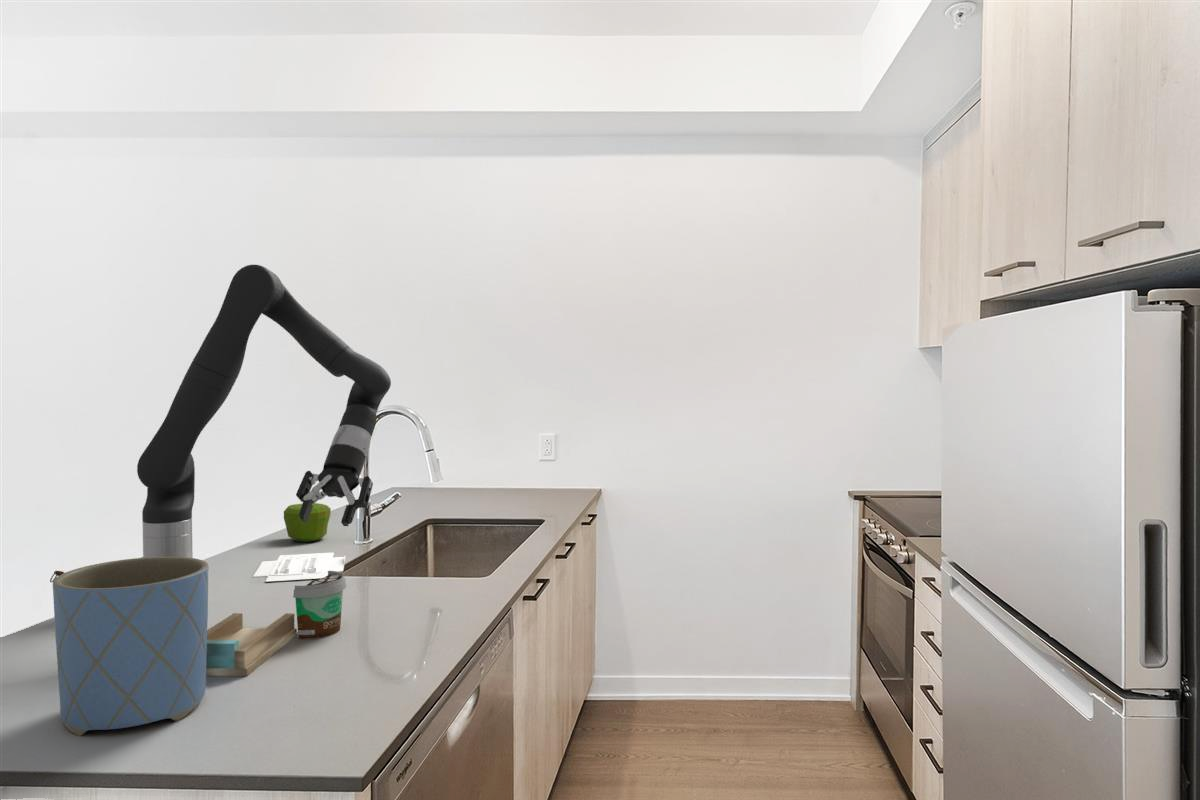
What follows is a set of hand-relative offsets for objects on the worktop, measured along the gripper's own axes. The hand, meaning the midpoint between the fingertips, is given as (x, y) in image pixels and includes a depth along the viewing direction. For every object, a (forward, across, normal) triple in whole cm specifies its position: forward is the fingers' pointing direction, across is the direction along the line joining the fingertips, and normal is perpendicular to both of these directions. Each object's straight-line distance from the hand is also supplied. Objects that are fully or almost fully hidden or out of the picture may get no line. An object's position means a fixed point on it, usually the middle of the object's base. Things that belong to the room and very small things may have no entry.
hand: (323, 522), depth 157 cm
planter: (+42, -5, -26) cm, 49 cm away
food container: (+20, +6, +4) cm, 21 cm away
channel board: (+28, -4, -7) cm, 29 cm away
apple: (-22, -37, +69) cm, 81 cm away
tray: (-5, -23, +43) cm, 49 cm away
